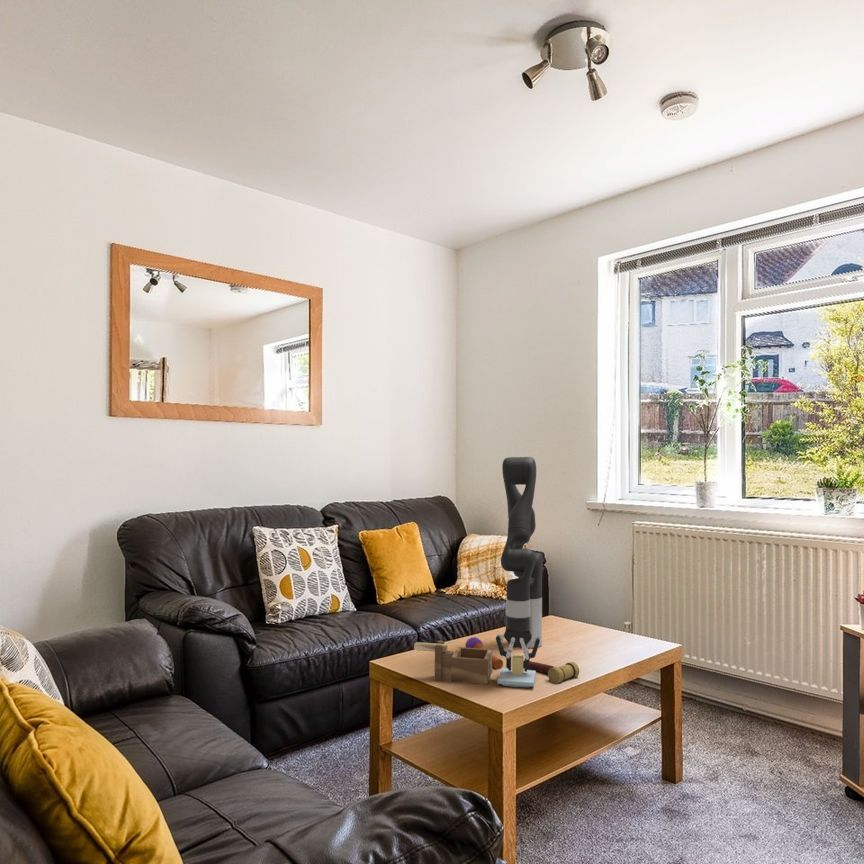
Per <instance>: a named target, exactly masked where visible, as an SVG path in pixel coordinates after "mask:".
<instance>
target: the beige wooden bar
mask: <svg viewBox="0 0 864 864" xmlns="http://www.w3.org/2000/svg"><path fill="white" fill-rule="evenodd" d="M435 644H437V643H436V642H435V643H433V642H432V643H431V642H420V641H416V642H415V643H414V646H413V650H414V651H421V652H422V651H423V652H434V653H435ZM448 644H449V643H448ZM448 644H447V643H444V644H439V645H442V652H447V651H449V650H448V649H449V648H448Z"/></svg>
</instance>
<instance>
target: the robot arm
mask: <svg viewBox="0 0 864 864" xmlns="http://www.w3.org/2000/svg"><path fill="white" fill-rule="evenodd" d="M501 469H502V470H501V471H502V479H503V485H504V489H505V494H506V495H505V496H506V501H507V502H506V503H507V517H508V522H507V536H506V541H505V545H504V547H503V550H502V553H501V557H500V565H501V567H502V569H503V570H504V571H505V572H512V573H513V575H514V576H515V577H516V578H512V579H508V581H507V582H506V601H505V611H504V612H505V631H504V633H502V634H497V635H496V636H495V640H496V645H497V648H498V652H499V655H500V656H501V657H505V663H506V665H505V667H506V669H508V671H511V669H512V656H511V654H512V651H513V648H514V649H516V648H518V649H521V650H522V653H523V655H524V660H525V668H524V670H525V672H527V670H530V669H529V665H530V661H531V660H530V659H534V658H535V657H536V655H537V652H538V648H539V647H541V646H542V643H543V639H542V638H543V633H542V632H543V630H542V629H543V592H542V591H543V569H544V568H543V567H544V565H543V564H544V563H543V562H544V560H543V555H542V554H541V553H540V552H534V550H532V549H530V548H524V546H525V545H526V544H528V543H529V542H530V540H531V537H532V536H533V534H534V533H535V530H536V513H535V510H534V508H533V502H534V496H535V490H536V484H537V482H536V481H537V464H536V460H535V458H534V457H532V456H509V457H505V458H504V459H503V461H502V468H501ZM517 485H518V486H519V485H525V487H524V490H523V492H522V493H520V491H519V489H518V488H517ZM531 579H532V581H531ZM504 639H505V641H506V642H507V643H508V648H507V650H505V648H504V645H503V642H504ZM530 648H532V651H531V652H529V649H530Z"/></svg>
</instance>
